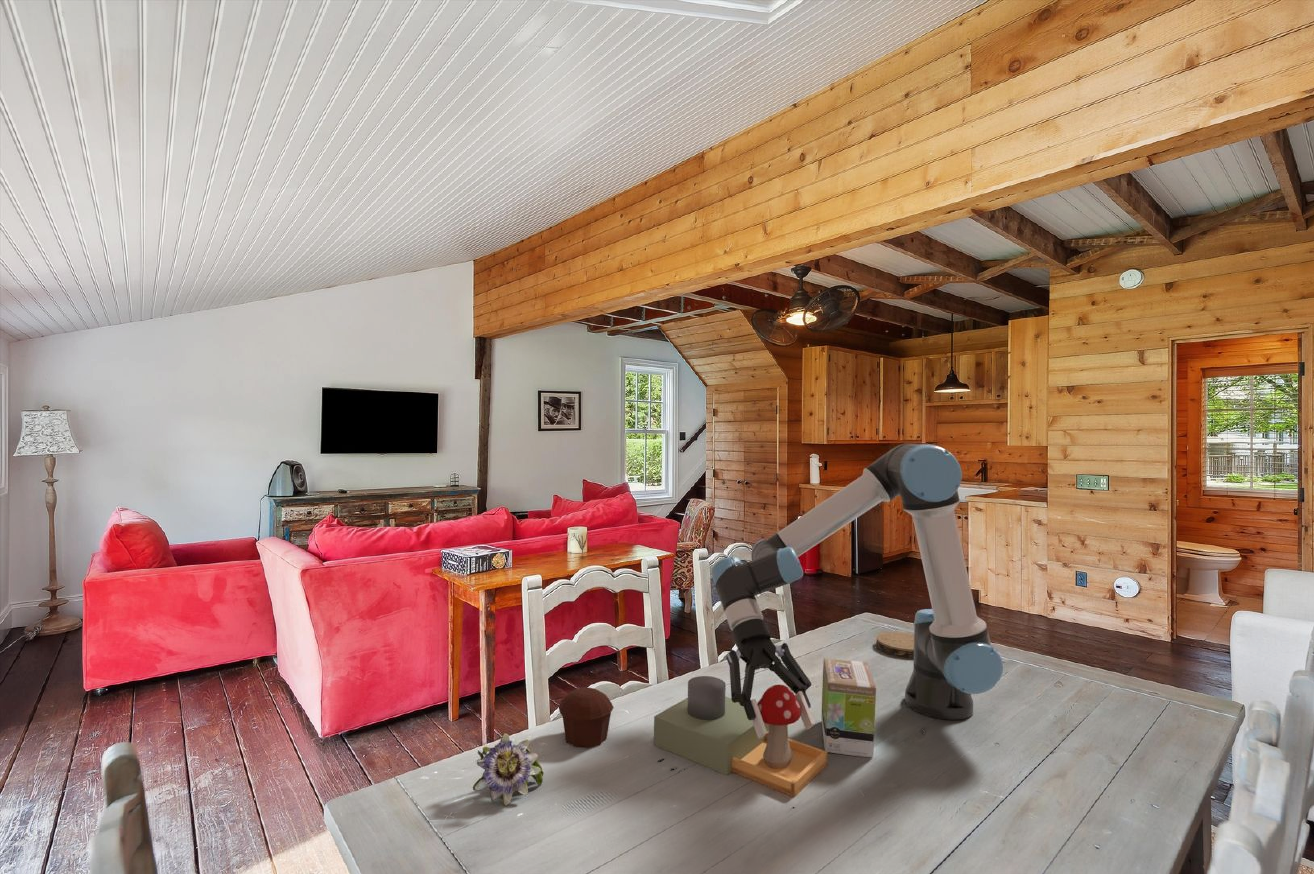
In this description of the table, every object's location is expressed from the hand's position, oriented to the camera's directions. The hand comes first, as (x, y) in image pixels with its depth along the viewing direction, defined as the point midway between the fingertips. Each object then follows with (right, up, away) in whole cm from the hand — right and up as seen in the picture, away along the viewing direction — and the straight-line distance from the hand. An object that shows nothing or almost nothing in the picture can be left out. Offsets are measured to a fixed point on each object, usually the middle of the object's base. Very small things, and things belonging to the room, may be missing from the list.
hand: (787, 731), depth 123 cm
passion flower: (-52, -8, -7) cm, 53 cm away
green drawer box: (-8, -8, +8) cm, 14 cm away
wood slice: (+50, -8, +71) cm, 87 cm away
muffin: (-40, -8, +13) cm, 43 cm away
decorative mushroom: (-1, -8, +3) cm, 8 cm away
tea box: (+16, -9, +15) cm, 23 cm away
